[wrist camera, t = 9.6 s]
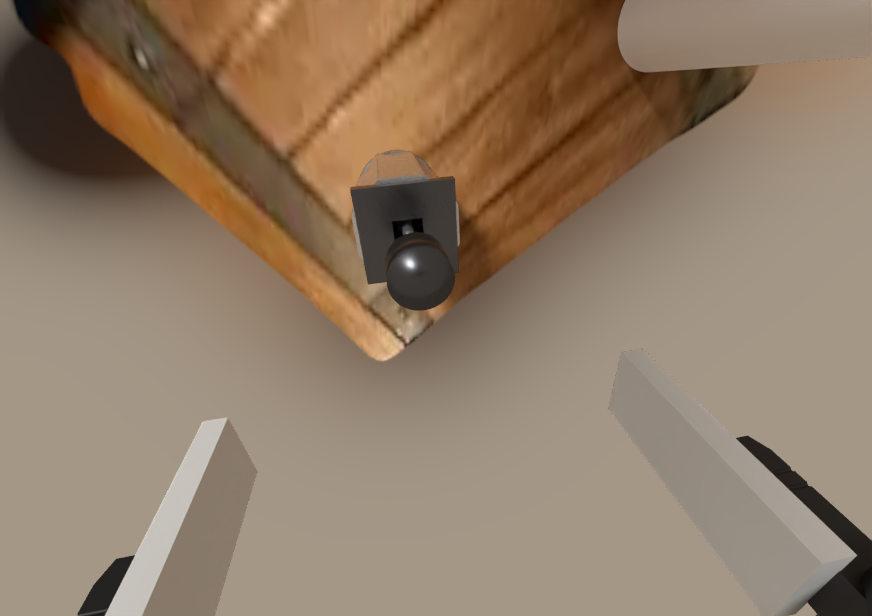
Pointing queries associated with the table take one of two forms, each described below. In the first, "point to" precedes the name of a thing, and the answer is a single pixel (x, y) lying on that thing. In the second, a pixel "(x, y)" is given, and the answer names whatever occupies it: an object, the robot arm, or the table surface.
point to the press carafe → (401, 208)
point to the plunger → (417, 268)
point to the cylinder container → (741, 32)
